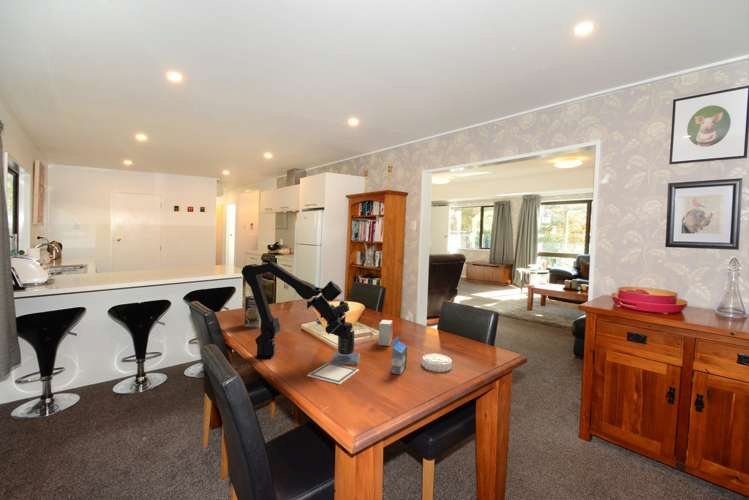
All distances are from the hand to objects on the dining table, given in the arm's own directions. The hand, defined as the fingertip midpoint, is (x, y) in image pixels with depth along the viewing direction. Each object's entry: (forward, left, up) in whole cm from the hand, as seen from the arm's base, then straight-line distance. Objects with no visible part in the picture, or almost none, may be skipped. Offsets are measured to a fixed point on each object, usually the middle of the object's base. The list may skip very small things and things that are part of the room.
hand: (349, 336), depth 136 cm
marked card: (-5, -14, -10) cm, 18 cm away
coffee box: (-54, +47, -10) cm, 73 cm away
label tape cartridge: (+20, -10, -10) cm, 24 cm away
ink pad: (-1, 0, -10) cm, 10 cm away
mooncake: (+36, -5, -10) cm, 38 cm away
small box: (+17, +22, -10) cm, 30 cm away
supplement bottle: (-1, 0, -7) cm, 7 cm away
